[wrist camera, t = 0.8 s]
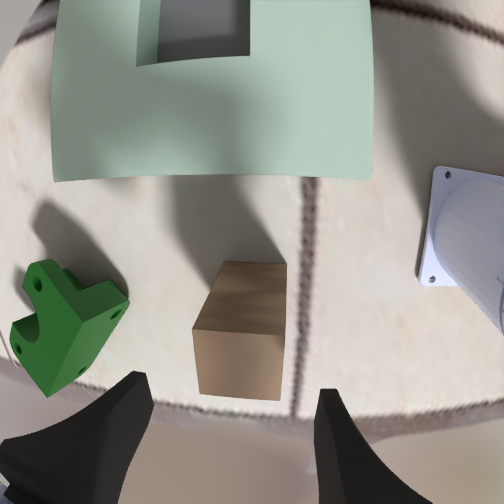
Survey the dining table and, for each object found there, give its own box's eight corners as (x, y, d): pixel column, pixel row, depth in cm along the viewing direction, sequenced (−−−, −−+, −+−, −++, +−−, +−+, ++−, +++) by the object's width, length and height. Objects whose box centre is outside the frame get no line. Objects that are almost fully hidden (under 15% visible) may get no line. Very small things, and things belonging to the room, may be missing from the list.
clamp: (105, 250, 27) (47, 234, 18) (149, 299, 26) (99, 302, 17) (37, 338, 26) (-25, 349, 17) (74, 385, 26) (16, 412, 17)
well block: (346, -72, 12) (353, -99, 9) (356, 172, 18) (371, 180, 15) (97, -45, 14) (74, -62, 11) (84, 173, 20) (53, 182, 17)
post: (286, 263, 21) (285, 335, 13) (284, 317, 22) (280, 400, 15) (224, 261, 21) (191, 328, 14) (226, 314, 23) (199, 393, 15)
